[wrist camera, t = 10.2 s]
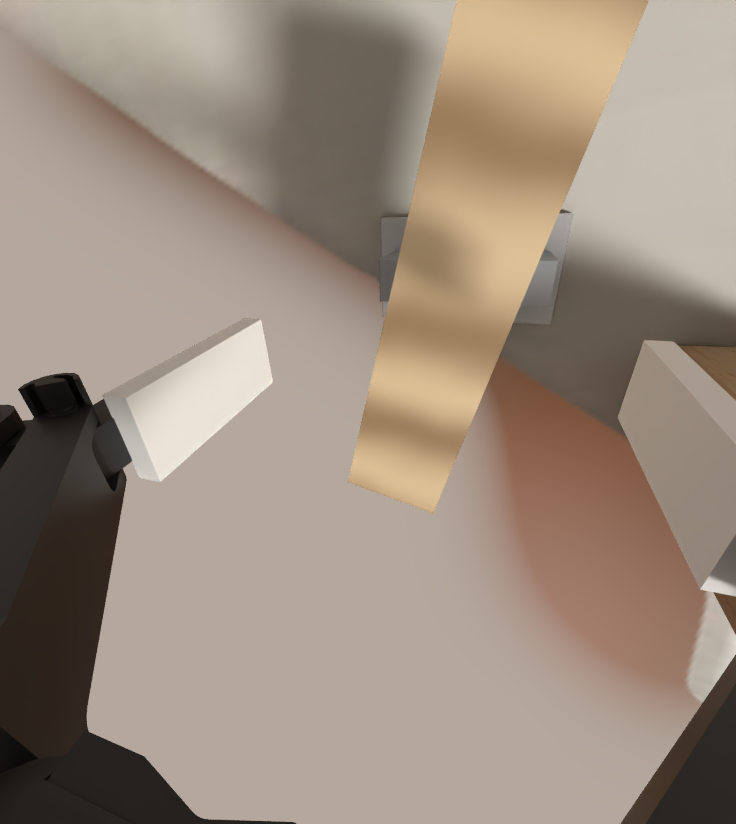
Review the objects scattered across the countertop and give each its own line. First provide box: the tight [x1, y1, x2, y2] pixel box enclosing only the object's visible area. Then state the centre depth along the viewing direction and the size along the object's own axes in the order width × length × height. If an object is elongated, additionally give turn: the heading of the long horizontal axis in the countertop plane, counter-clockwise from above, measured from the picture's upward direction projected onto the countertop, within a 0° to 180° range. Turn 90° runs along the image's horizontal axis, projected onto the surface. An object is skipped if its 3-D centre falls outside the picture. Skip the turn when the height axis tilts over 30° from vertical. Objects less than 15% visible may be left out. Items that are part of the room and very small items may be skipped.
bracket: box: [379, 213, 573, 325], centre depth 28 cm, size 8×14×9 cm, turn 92°
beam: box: [348, 0, 648, 513], centre depth 21 cm, size 24×6×6 cm, turn 169°
